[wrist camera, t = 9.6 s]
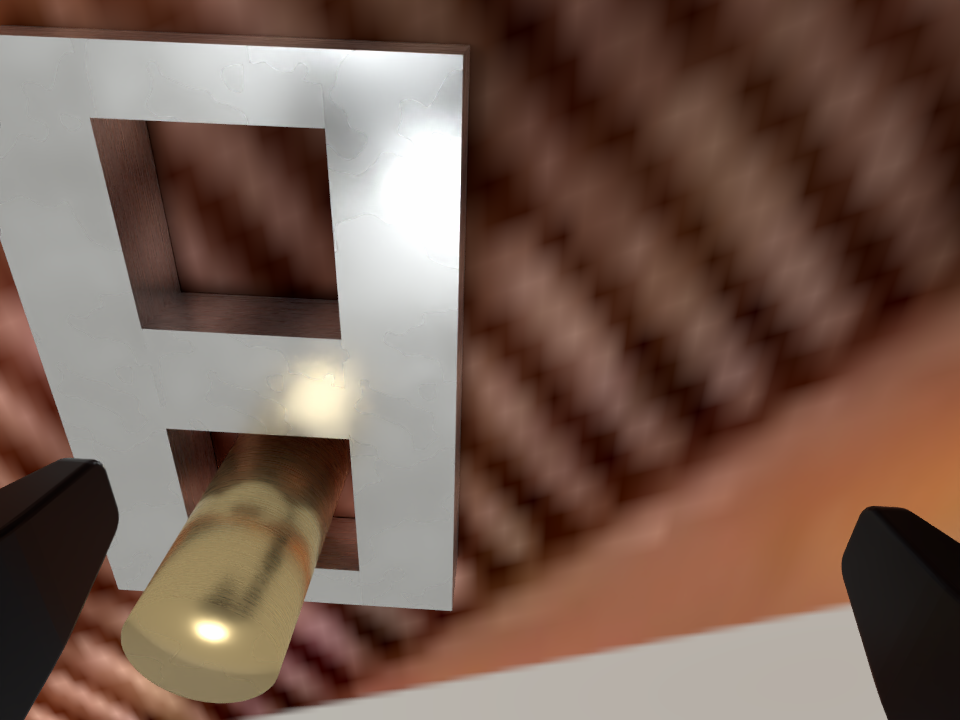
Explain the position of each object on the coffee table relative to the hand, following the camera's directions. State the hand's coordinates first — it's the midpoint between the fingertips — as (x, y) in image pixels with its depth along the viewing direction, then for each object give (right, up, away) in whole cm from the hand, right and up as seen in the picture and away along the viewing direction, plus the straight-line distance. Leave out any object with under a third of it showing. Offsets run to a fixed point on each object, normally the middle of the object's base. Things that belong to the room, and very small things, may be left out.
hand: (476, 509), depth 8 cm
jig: (-6, +2, +13) cm, 15 cm away
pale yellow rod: (-7, -2, +16) cm, 17 cm away
